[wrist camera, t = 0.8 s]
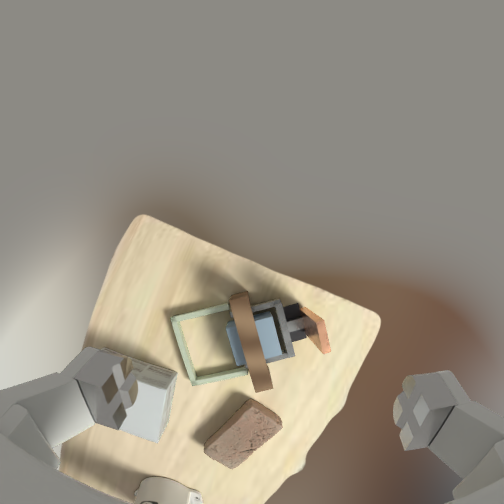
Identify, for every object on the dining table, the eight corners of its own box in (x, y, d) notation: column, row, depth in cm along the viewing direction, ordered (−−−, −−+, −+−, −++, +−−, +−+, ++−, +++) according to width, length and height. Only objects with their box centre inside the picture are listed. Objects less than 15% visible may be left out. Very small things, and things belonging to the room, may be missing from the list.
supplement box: (99, 397, 52) (80, 413, 42) (104, 345, 52) (82, 357, 43) (169, 422, 52) (158, 445, 42) (178, 371, 52) (166, 390, 43)
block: (278, 345, 53) (282, 354, 47) (237, 355, 53) (236, 366, 47) (269, 310, 53) (272, 316, 47) (228, 321, 53) (225, 328, 47)
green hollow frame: (247, 370, 52) (247, 374, 50) (194, 382, 52) (192, 386, 50) (228, 302, 53) (227, 304, 51) (172, 316, 53) (170, 317, 51)
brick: (233, 460, 52) (232, 472, 47) (202, 442, 52) (200, 454, 47) (282, 415, 53) (285, 426, 48) (250, 395, 53) (251, 405, 48)
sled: (314, 346, 52) (334, 369, 39) (245, 365, 52) (245, 394, 39) (301, 291, 53) (319, 299, 39) (230, 310, 52) (224, 325, 39)
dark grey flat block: (306, 337, 53) (306, 337, 53) (291, 341, 53) (291, 342, 53) (297, 303, 53) (298, 303, 53) (282, 307, 53) (282, 307, 53)
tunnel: (269, 371, 53) (273, 388, 44) (254, 375, 52) (255, 392, 44) (247, 291, 53) (247, 295, 45) (231, 295, 53) (228, 300, 45)
